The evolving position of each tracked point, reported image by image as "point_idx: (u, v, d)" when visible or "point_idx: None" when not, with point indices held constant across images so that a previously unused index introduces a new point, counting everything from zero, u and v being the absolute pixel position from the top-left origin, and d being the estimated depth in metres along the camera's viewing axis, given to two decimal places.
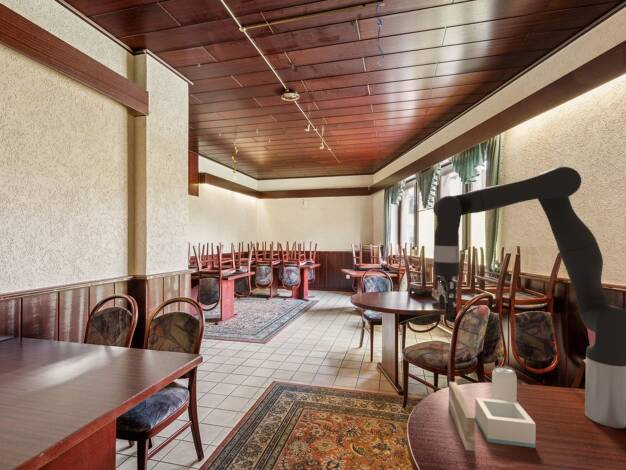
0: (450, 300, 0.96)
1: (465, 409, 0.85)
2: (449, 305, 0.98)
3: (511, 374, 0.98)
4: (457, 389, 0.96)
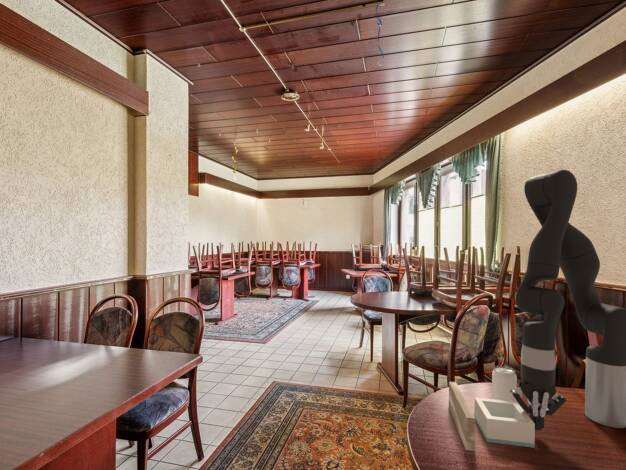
0: None
1: (465, 409, 0.85)
2: None
3: (511, 374, 0.98)
4: (457, 389, 0.96)
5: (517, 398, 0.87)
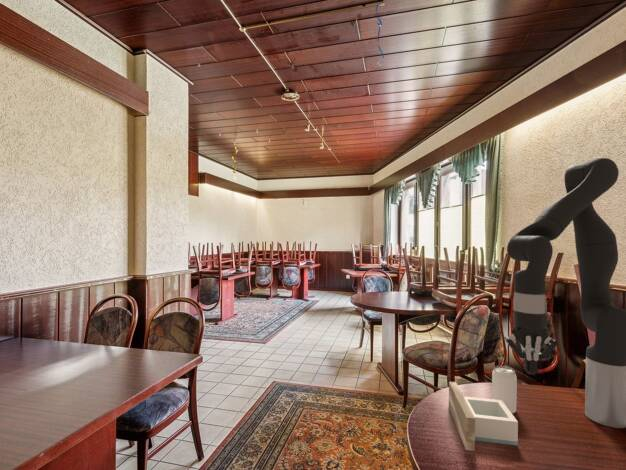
0: None
1: (465, 409, 0.85)
2: None
3: (511, 374, 0.98)
4: (457, 389, 0.96)
5: (511, 344, 0.89)
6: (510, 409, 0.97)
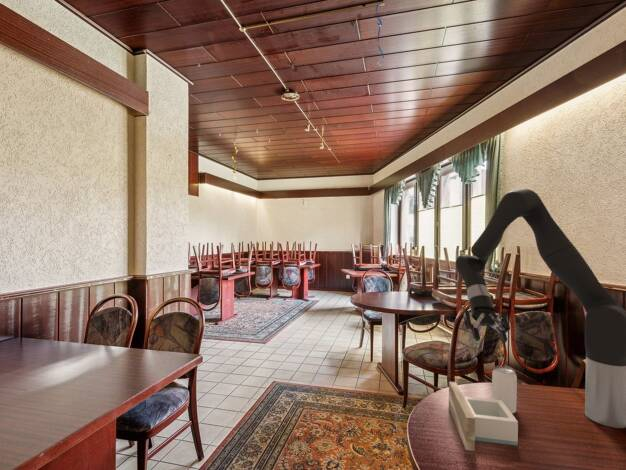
0: (466, 326, 1.15)
1: (465, 409, 0.85)
2: (473, 331, 1.13)
3: (511, 374, 0.98)
4: (457, 389, 0.96)
5: None
6: (510, 409, 0.97)
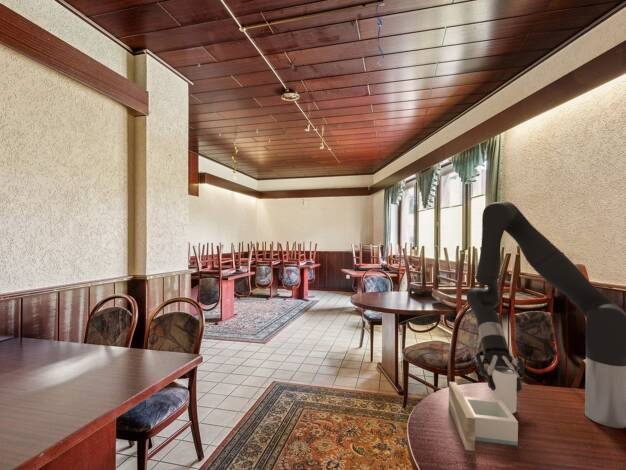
0: (479, 372, 1.04)
1: (465, 409, 0.85)
2: (487, 378, 1.02)
3: (511, 374, 0.98)
4: (457, 389, 0.96)
5: None
6: (510, 409, 0.97)
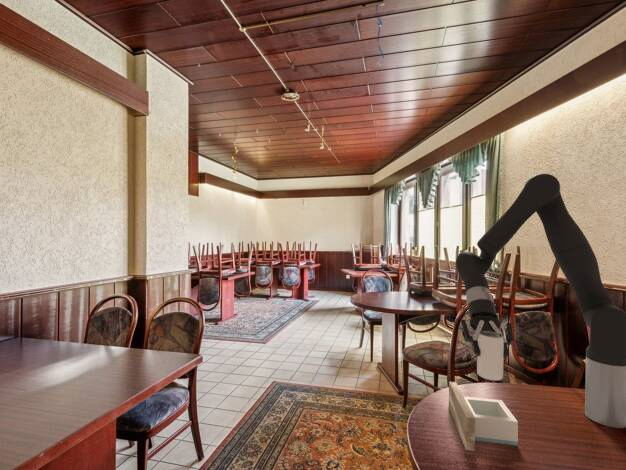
0: (464, 338, 0.97)
1: (465, 409, 0.85)
2: (472, 344, 0.95)
3: (497, 338, 0.90)
4: (457, 389, 0.96)
5: None
6: (496, 375, 0.90)
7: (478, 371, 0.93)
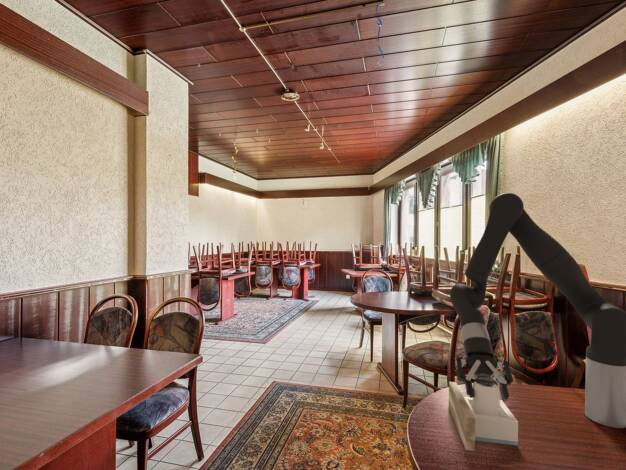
0: (457, 377, 0.93)
1: (465, 409, 0.85)
2: (466, 384, 0.92)
3: (493, 387, 0.87)
4: (457, 389, 0.96)
5: None
6: None
7: None
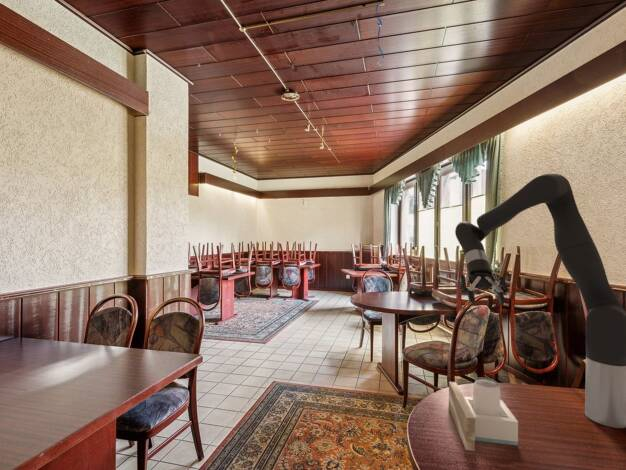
0: (461, 290, 1.12)
1: (465, 409, 0.85)
2: (468, 294, 1.11)
3: (493, 387, 0.87)
4: (457, 389, 0.96)
5: None
6: None
7: None
